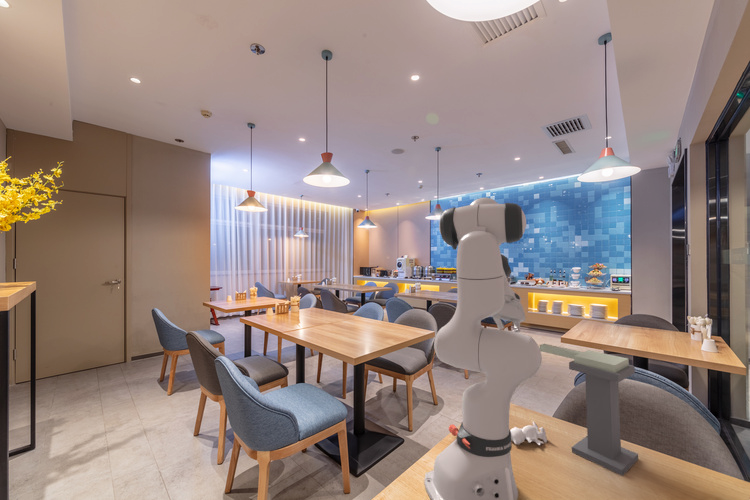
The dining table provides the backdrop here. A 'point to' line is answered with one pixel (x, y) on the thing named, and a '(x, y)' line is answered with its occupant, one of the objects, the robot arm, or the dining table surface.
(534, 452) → the dining table surface
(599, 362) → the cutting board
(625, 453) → the stand
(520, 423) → the dining table surface
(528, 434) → the toy figure
